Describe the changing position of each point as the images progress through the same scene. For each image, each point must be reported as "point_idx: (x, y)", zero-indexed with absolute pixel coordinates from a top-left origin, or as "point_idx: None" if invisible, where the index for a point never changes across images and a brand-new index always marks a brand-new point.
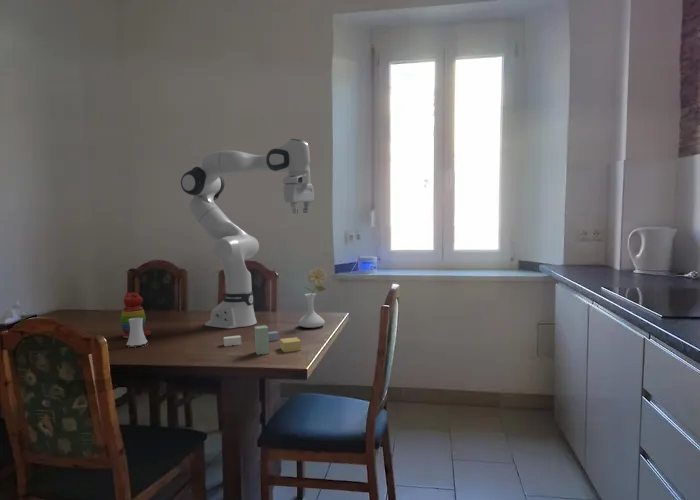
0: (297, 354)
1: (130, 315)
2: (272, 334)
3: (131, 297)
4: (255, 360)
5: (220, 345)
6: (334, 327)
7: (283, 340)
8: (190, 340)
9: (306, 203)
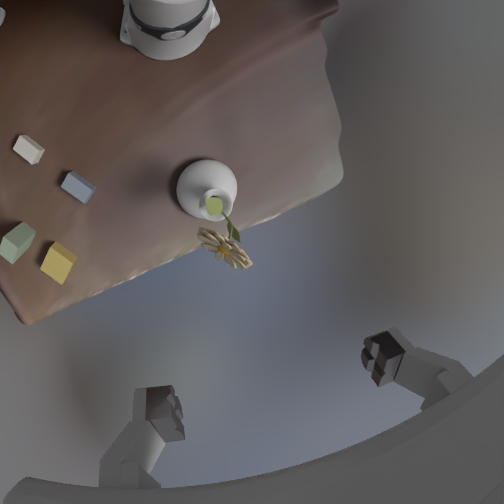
0: (50, 285)
1: None
2: (75, 196)
3: None
4: None
5: None
6: None
7: (48, 258)
8: (28, 58)
9: (430, 403)
